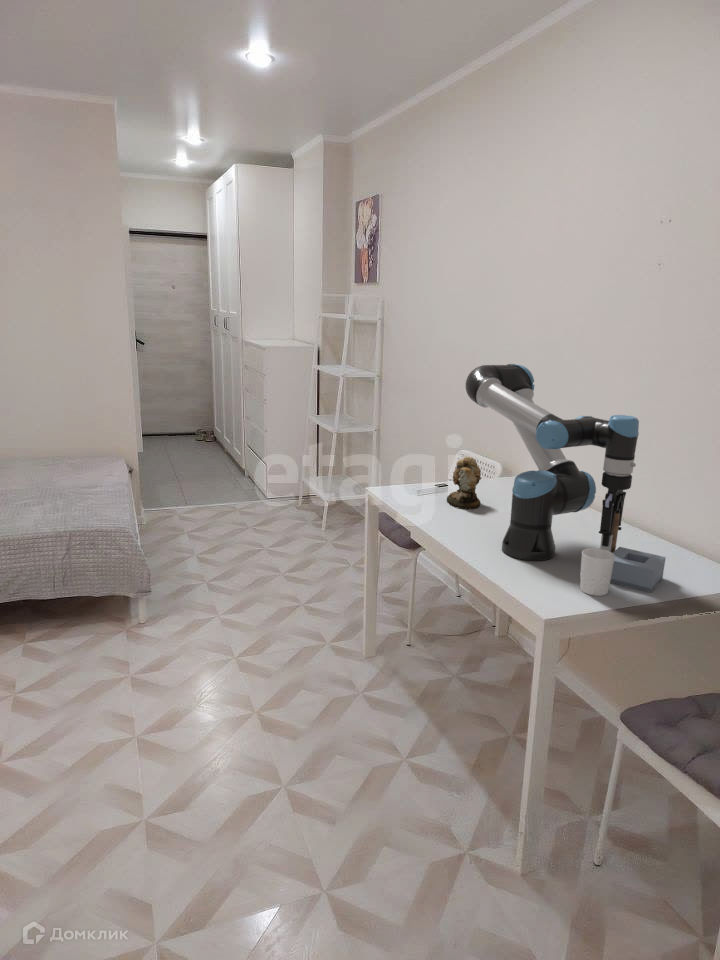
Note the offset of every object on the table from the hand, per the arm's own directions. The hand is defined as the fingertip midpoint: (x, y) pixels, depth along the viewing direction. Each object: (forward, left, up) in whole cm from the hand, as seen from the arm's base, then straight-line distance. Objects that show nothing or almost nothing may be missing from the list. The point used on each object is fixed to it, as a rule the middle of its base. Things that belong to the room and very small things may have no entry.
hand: (607, 553), depth 188 cm
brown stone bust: (-60, +28, -3) cm, 66 cm away
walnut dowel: (0, 0, -3) cm, 3 cm away
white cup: (+3, -21, -3) cm, 21 cm away
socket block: (+9, -6, -3) cm, 11 cm away
